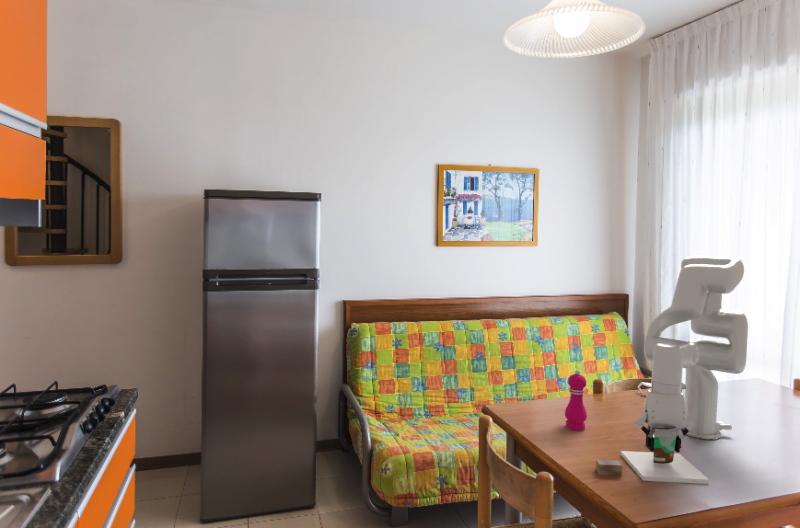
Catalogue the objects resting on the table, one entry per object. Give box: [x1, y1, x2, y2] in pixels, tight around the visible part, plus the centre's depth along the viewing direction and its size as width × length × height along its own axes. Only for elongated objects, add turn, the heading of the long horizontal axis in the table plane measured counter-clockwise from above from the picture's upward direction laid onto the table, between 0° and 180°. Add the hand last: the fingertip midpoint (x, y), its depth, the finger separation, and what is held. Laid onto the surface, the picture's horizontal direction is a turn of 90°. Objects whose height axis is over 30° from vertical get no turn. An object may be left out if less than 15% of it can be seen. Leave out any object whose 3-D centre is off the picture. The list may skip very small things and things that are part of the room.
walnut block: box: [595, 459, 623, 477], centre depth 139 cm, size 6×3×3 cm, turn 86°
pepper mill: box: [564, 369, 588, 432], centre depth 171 cm, size 7×7×20 cm
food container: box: [653, 427, 679, 464], centre depth 142 cm, size 12×6×10 cm, turn 153°
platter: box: [620, 450, 710, 485], centre depth 142 cm, size 17×16×1 cm
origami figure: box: [637, 381, 651, 394], centre depth 209 cm, size 12×8×5 cm
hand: (663, 449), depth 142 cm, fingers closed on food container, 6 cm apart
